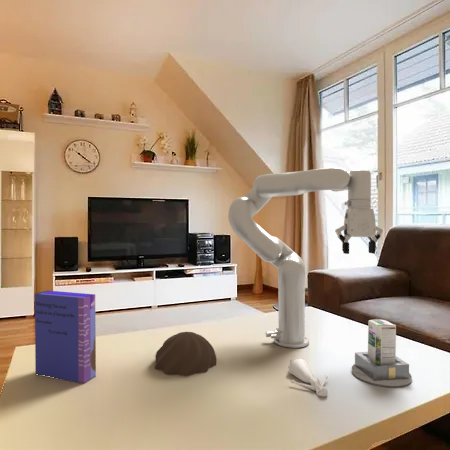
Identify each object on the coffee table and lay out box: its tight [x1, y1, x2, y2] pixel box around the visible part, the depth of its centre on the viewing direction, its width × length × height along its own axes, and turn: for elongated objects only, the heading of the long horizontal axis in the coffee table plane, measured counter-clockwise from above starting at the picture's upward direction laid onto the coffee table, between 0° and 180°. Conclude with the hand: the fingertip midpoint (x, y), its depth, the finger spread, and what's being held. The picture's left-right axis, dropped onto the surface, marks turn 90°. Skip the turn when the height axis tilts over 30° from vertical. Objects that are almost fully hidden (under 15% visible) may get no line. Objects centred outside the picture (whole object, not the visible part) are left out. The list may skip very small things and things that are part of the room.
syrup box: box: [367, 319, 397, 364], centre depth 104 cm, size 6×6×14 cm
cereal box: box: [34, 290, 97, 385], centre depth 103 cm, size 17×5×24 cm, turn 71°
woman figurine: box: [287, 358, 328, 398], centre depth 99 cm, size 12×4×18 cm
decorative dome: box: [154, 331, 217, 377], centre depth 113 cm, size 19×20×10 cm
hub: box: [351, 351, 413, 388], centre depth 104 cm, size 16×16×5 cm
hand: (359, 253), depth 126 cm, fingers open, 9 cm apart
